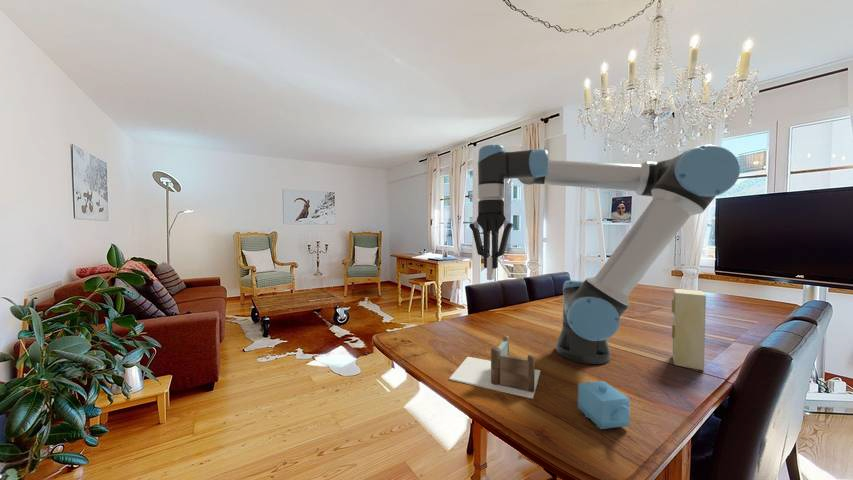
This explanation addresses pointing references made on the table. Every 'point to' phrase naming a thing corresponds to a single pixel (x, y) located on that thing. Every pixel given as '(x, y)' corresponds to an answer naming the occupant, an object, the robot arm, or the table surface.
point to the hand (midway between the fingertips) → (490, 279)
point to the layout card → (486, 377)
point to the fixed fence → (512, 370)
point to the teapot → (603, 404)
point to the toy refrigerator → (688, 328)
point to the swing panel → (505, 345)
